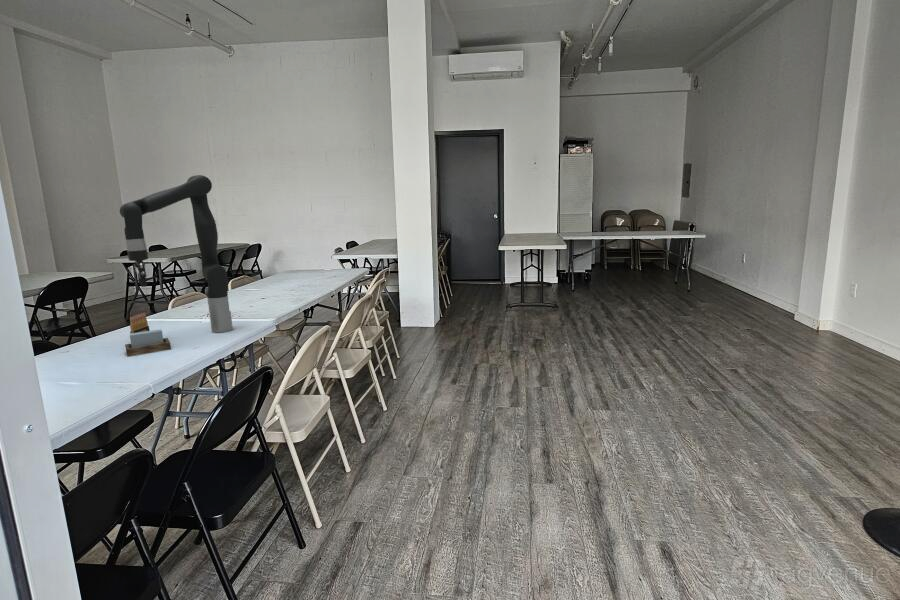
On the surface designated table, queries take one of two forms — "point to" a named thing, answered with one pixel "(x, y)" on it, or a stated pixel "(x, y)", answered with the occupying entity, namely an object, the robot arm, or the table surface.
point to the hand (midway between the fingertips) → (143, 285)
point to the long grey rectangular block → (146, 338)
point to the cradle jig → (148, 348)
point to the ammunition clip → (139, 324)
